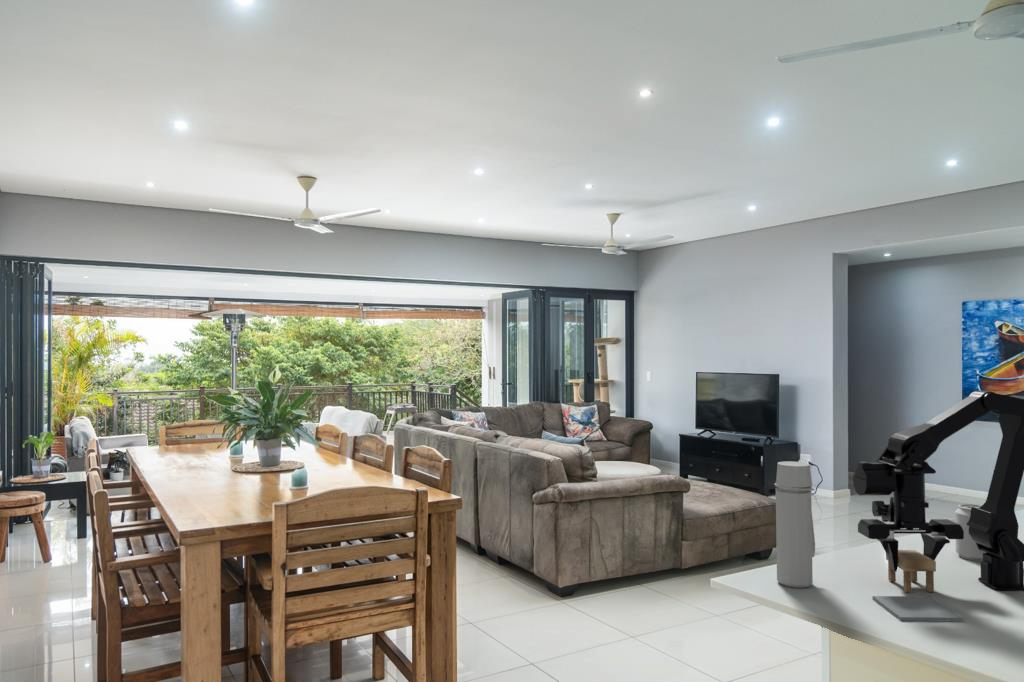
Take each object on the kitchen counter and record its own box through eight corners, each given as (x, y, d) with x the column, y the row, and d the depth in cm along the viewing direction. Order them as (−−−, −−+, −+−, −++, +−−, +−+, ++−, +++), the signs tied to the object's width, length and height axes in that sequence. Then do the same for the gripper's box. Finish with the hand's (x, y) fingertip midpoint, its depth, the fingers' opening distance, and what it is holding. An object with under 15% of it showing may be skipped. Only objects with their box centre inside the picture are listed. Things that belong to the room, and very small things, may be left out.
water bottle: (795, 591, 143) (794, 467, 144) (767, 580, 151) (765, 462, 151) (829, 585, 147) (827, 464, 147) (800, 574, 154) (798, 459, 155)
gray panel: (930, 599, 138) (930, 596, 138) (963, 621, 127) (963, 617, 127) (872, 599, 139) (872, 596, 139) (900, 620, 128) (900, 617, 128)
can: (993, 555, 167) (992, 504, 167) (994, 564, 160) (993, 510, 161) (956, 551, 171) (955, 501, 171) (955, 559, 164) (954, 507, 165)
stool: (915, 579, 150) (915, 550, 150) (936, 592, 142) (935, 561, 142) (886, 579, 150) (885, 549, 150) (905, 592, 142) (904, 561, 142)
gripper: (934, 487, 154) (935, 559, 153) (846, 487, 155) (847, 559, 154) (964, 498, 143) (966, 576, 142) (869, 498, 143) (870, 575, 143)
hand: (910, 571), depth 146 cm, fingers closed on stool, 6 cm apart
